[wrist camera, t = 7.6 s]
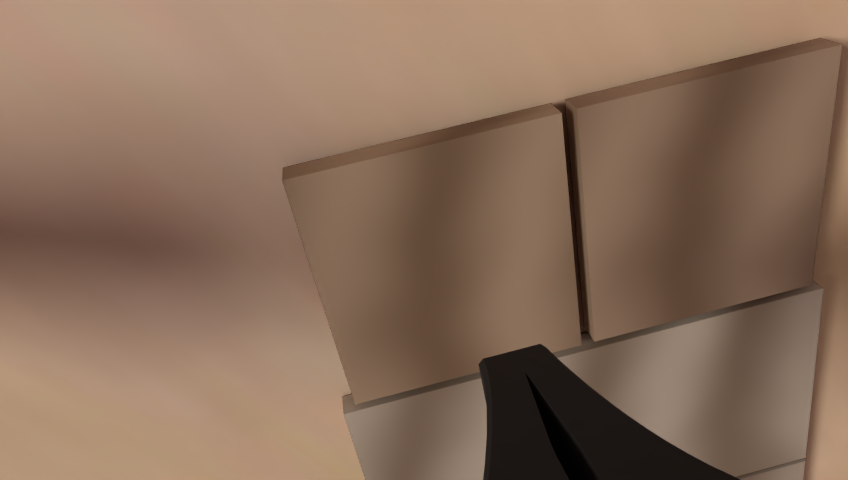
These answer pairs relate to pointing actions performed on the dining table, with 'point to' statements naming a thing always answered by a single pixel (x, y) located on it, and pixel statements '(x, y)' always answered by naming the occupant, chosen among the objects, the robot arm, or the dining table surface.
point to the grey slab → (636, 395)
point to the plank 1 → (441, 249)
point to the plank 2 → (701, 185)
